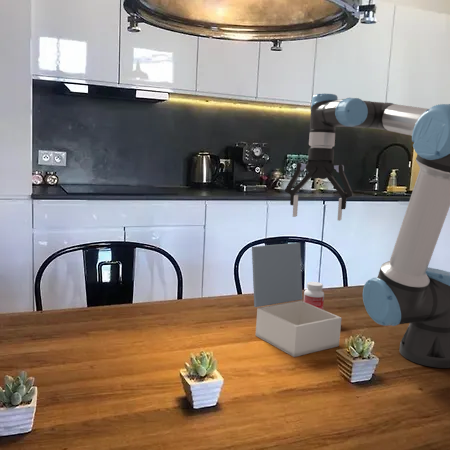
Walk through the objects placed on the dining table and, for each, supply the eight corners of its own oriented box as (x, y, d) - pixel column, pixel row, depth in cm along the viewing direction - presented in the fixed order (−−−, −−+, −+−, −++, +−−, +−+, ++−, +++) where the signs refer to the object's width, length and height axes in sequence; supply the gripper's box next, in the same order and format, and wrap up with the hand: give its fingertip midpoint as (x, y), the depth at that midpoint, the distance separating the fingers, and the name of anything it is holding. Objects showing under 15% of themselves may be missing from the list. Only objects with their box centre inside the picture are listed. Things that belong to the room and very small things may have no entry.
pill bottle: (324, 321, 162) (328, 286, 160) (305, 321, 161) (308, 286, 159) (318, 314, 168) (321, 280, 166) (299, 314, 167) (302, 280, 165)
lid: (300, 242, 155) (295, 242, 156) (253, 246, 145) (249, 246, 147) (302, 299, 155) (297, 298, 157) (256, 307, 145) (251, 306, 147)
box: (338, 346, 143) (341, 317, 142) (293, 357, 134) (296, 326, 133) (298, 326, 156) (301, 300, 155) (255, 335, 147) (257, 307, 146)
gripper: (365, 149, 157) (360, 220, 160) (284, 146, 166) (280, 213, 169) (362, 148, 150) (357, 223, 153) (277, 145, 159) (273, 216, 162)
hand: (316, 218), depth 161 cm, fingers open, 13 cm apart
